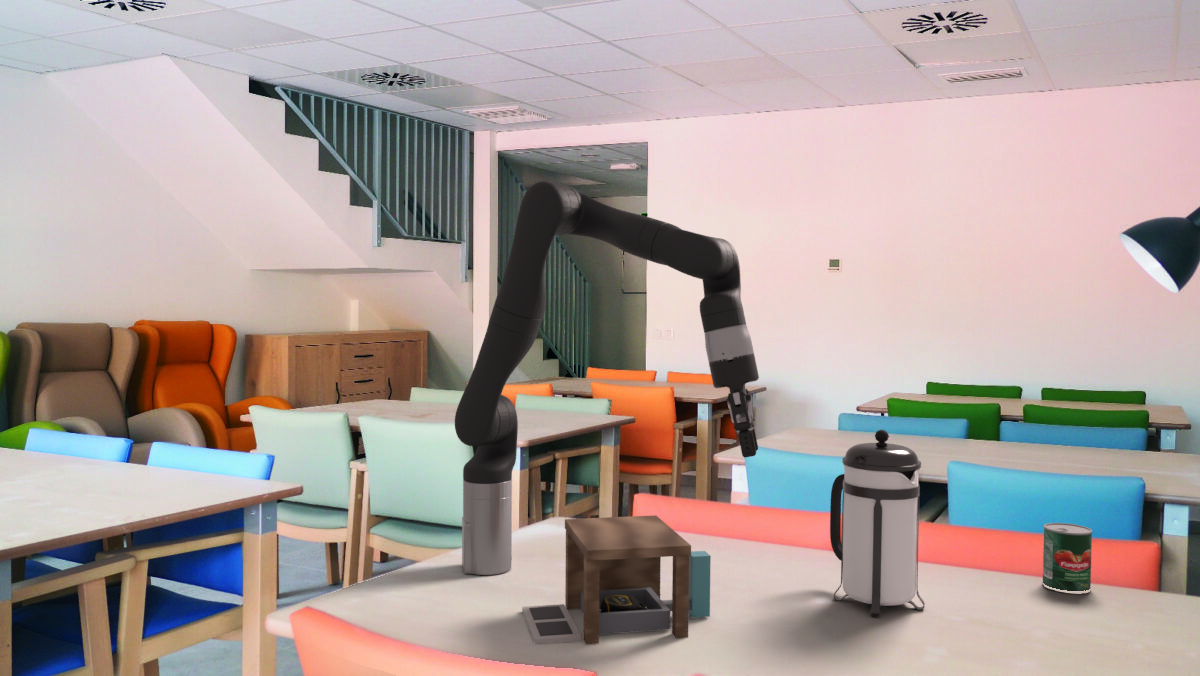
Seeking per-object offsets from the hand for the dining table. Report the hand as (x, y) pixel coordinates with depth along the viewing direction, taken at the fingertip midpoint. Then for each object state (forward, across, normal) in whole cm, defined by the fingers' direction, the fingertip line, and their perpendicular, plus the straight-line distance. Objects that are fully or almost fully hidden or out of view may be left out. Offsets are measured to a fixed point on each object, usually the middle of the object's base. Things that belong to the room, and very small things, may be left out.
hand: (751, 454), depth 152 cm
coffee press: (+30, -14, +14) cm, 36 cm away
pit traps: (+20, +9, -36) cm, 42 cm away
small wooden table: (+22, +5, -25) cm, 34 cm away
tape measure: (+23, +4, -25) cm, 34 cm away
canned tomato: (+36, -30, +49) cm, 68 cm away
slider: (+23, +3, -21) cm, 31 cm away
